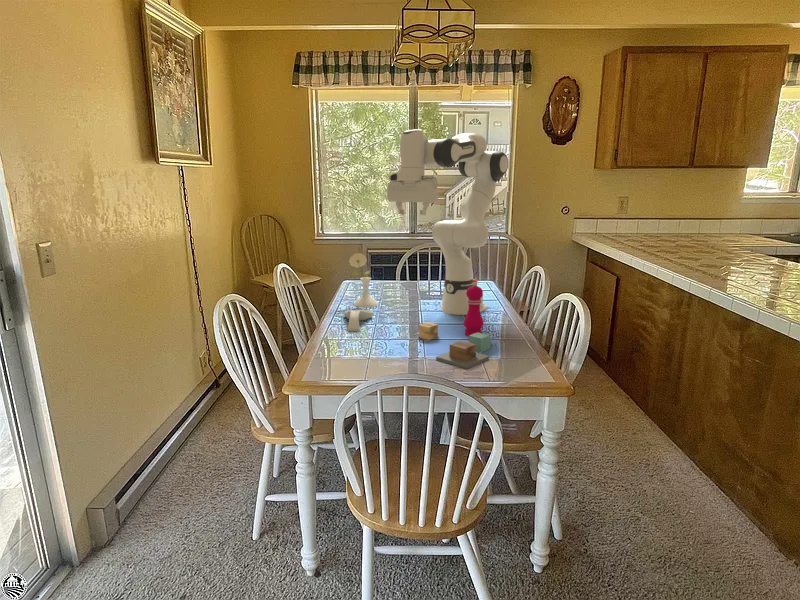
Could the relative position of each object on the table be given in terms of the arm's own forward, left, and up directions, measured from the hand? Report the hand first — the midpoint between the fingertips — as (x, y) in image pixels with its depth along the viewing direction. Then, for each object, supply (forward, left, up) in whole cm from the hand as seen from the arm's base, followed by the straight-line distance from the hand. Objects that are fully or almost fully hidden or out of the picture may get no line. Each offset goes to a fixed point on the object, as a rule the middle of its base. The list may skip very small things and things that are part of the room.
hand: (412, 214), depth 186 cm
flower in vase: (-9, -37, -44) cm, 58 cm away
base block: (+14, +35, -43) cm, 57 cm away
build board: (+14, +35, -44) cm, 58 cm away
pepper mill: (-10, +22, -44) cm, 50 cm away
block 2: (+2, +33, -44) cm, 55 cm away
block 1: (+4, +12, -44) cm, 46 cm away
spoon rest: (+11, -20, -44) cm, 49 cm away
